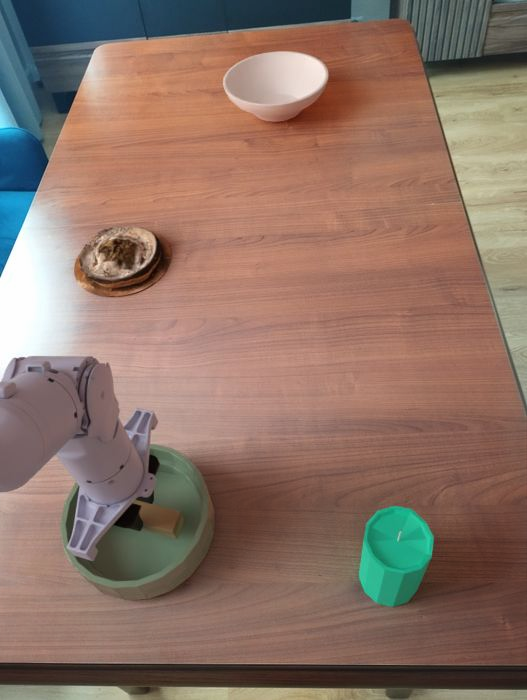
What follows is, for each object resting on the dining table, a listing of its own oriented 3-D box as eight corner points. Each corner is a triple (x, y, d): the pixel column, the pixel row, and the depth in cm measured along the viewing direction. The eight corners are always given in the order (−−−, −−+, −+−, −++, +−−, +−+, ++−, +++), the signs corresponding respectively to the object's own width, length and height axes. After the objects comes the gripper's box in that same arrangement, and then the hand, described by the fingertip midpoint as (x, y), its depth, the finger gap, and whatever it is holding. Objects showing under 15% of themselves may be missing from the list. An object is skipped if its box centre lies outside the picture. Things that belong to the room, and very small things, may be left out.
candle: (382, 619, 56) (394, 582, 47) (346, 565, 60) (350, 520, 50) (432, 585, 58) (452, 543, 48) (394, 534, 61) (406, 486, 52)
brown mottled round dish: (187, 241, 92) (182, 220, 89) (138, 308, 84) (130, 288, 81) (110, 221, 97) (102, 201, 93) (56, 283, 89) (46, 263, 85)
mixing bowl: (184, 620, 58) (174, 607, 54) (51, 577, 61) (32, 562, 57) (234, 481, 66) (228, 461, 62) (114, 452, 70) (102, 431, 66)
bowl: (207, 119, 113) (201, 85, 108) (271, 75, 121) (269, 42, 116) (284, 152, 104) (282, 117, 99) (348, 102, 113) (350, 67, 107)
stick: (177, 539, 60) (172, 531, 59) (100, 518, 63) (93, 509, 61) (185, 519, 62) (180, 511, 60) (109, 499, 64) (103, 490, 62)
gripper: (102, 545, 45) (145, 594, 56) (172, 393, 53) (198, 461, 64) (24, 522, 47) (80, 574, 58) (104, 378, 55) (140, 447, 66)
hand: (138, 513), depth 61 cm, fingers closed on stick, 2 cm apart
